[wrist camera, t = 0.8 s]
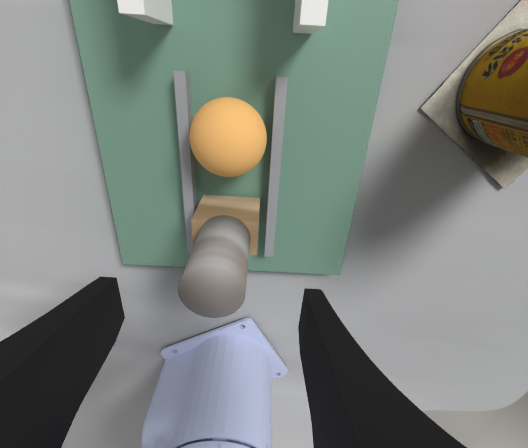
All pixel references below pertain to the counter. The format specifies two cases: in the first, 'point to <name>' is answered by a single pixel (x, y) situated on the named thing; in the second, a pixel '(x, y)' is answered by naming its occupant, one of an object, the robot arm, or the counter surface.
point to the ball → (228, 137)
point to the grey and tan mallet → (220, 254)
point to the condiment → (490, 100)
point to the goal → (160, 12)
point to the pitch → (252, 92)
